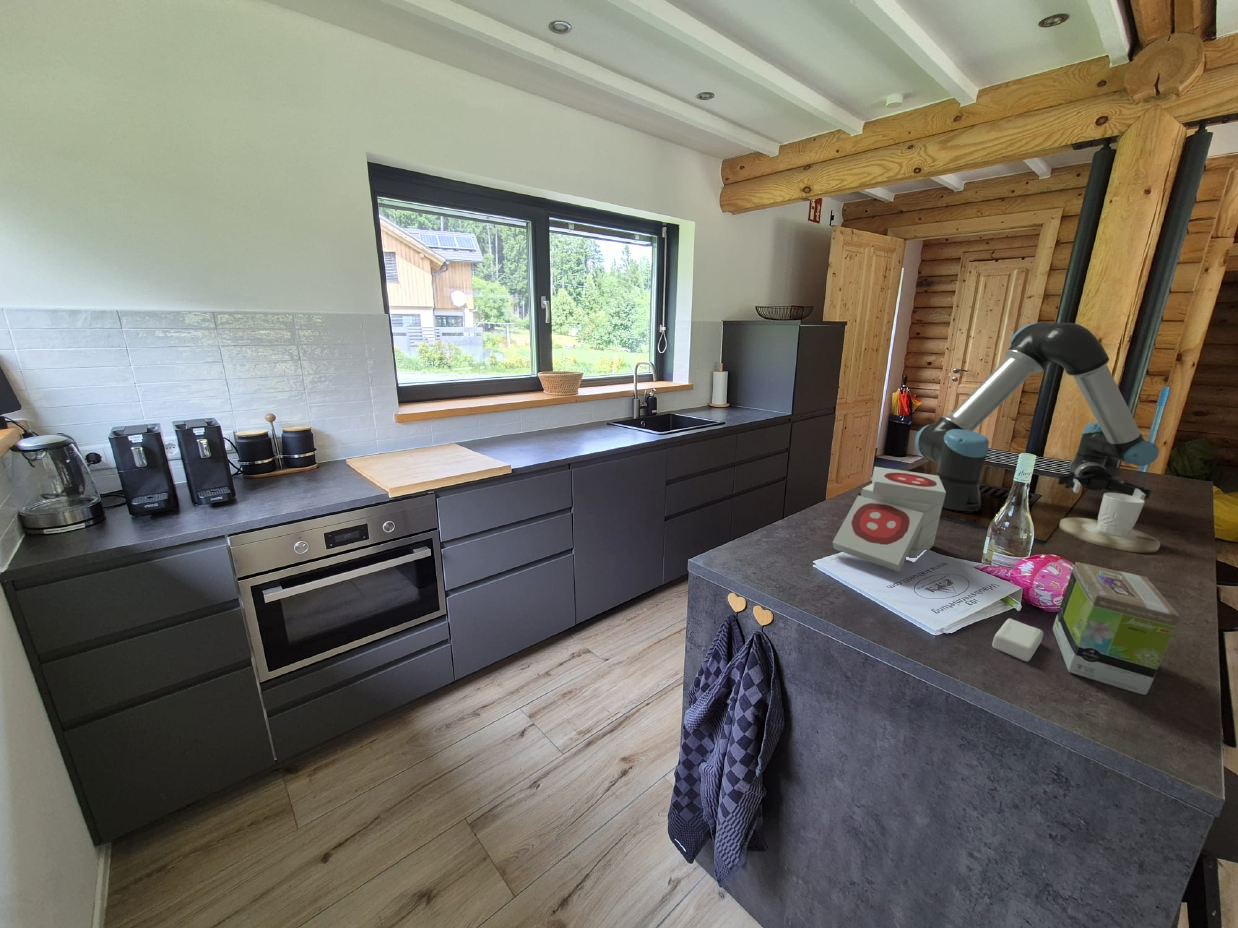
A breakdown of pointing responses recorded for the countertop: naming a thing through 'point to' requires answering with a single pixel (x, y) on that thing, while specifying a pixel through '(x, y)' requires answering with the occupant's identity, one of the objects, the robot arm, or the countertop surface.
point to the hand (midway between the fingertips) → (1109, 493)
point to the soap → (1017, 639)
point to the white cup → (1118, 514)
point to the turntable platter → (1109, 536)
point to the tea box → (1113, 627)
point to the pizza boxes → (893, 518)
